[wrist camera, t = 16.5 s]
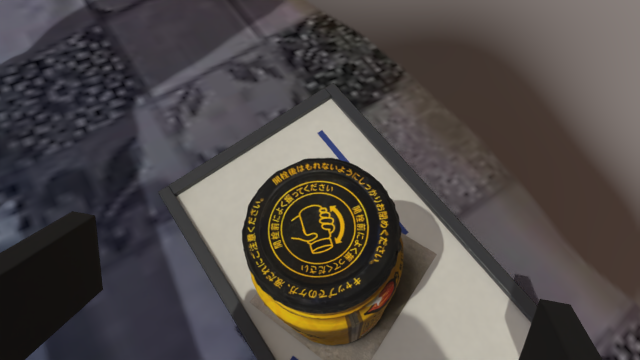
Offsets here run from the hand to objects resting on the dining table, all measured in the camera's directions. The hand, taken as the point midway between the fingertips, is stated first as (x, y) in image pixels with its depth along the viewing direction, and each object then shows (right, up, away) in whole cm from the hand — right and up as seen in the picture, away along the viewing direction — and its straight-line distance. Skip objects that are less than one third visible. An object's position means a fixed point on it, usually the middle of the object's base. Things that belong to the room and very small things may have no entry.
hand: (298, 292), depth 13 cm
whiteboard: (+2, -2, +13) cm, 13 cm away
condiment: (+2, -3, +12) cm, 13 cm away
